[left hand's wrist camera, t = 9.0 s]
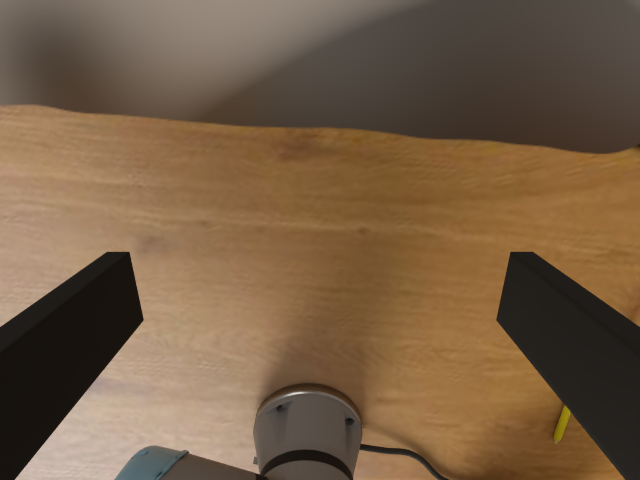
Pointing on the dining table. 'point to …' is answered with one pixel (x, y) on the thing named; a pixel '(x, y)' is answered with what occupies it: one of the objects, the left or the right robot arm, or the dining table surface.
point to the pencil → (561, 424)
